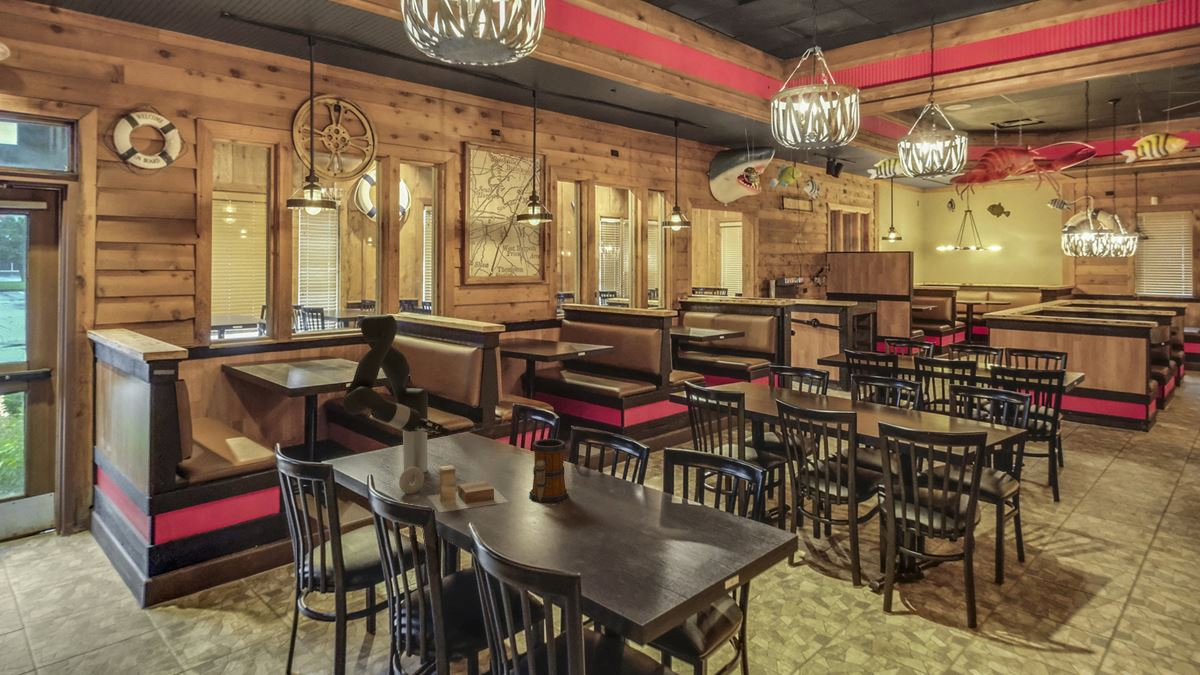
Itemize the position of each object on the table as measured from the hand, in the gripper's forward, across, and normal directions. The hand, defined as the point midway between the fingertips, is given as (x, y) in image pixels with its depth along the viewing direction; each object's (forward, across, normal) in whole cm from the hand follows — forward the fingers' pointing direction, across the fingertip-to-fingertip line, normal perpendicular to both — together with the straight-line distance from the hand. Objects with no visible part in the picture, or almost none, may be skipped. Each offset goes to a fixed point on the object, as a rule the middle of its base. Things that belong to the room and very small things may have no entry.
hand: (441, 432), depth 239 cm
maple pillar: (+10, -2, +22) cm, 24 cm away
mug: (+35, -23, +13) cm, 44 cm away
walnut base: (+18, -5, +18) cm, 26 cm away
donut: (+6, +15, +22) cm, 27 cm away
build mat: (+16, -4, +19) cm, 26 cm away
